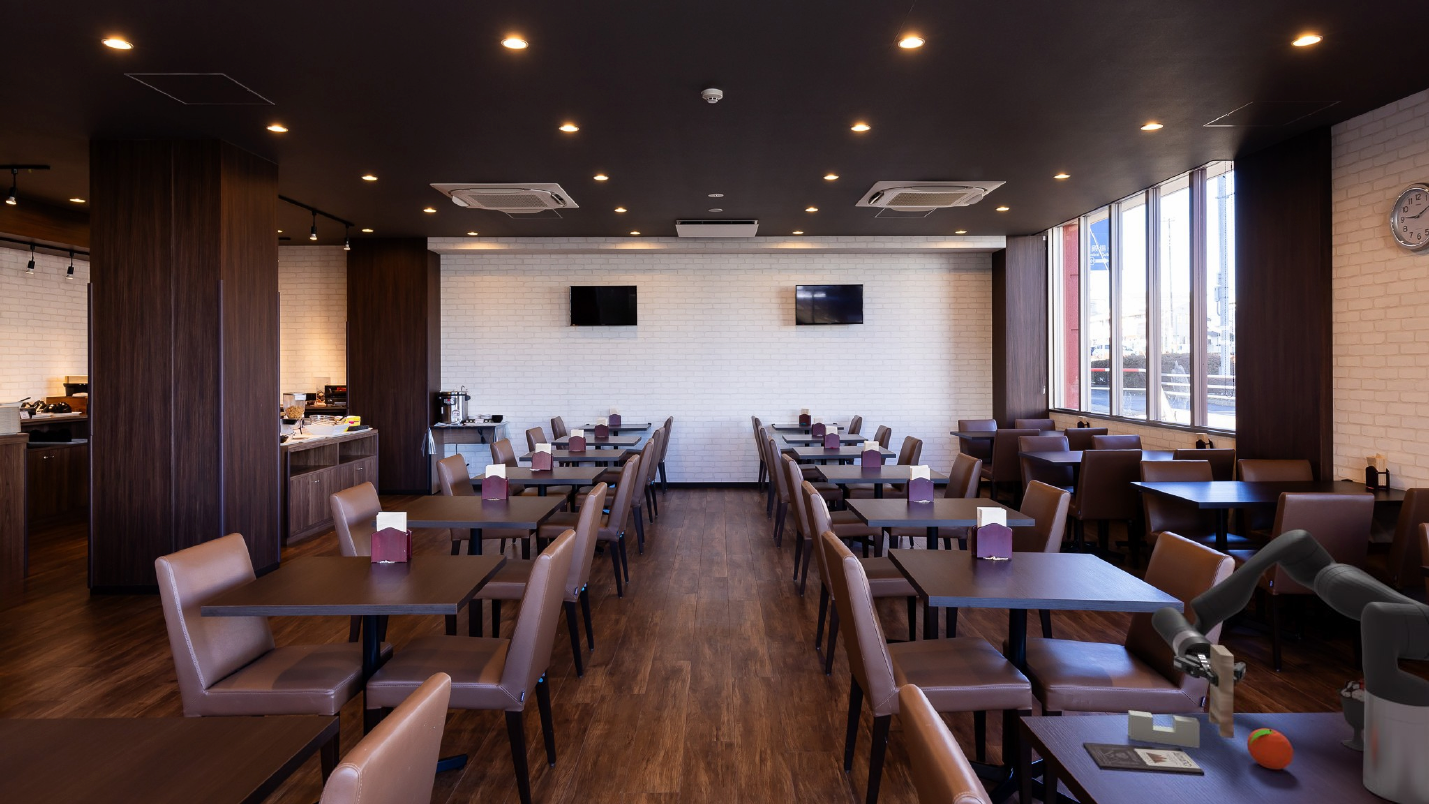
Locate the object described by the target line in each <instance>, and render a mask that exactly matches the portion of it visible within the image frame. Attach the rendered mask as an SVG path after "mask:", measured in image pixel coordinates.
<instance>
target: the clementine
mask: <svg viewBox="0 0 1429 804" xmlns="http://www.w3.org/2000/svg"><path fill="white" fill-rule="evenodd" d="M1246 746H1247V751H1248V752H1249V754H1250V757H1252V759H1253V760H1254V761H1255V762H1256V763H1258V764H1259V765H1260V766H1262V767H1265V768H1267V769H1270V770H1281V769H1284V768H1285V769H1286V767H1288V766H1289V765H1290V764H1291V763H1292V761H1293V758H1294V749H1293V747H1292V744H1291V742H1290V741H1289V740H1288V739H1287V737H1286V736H1285V735H1283V734H1282V733H1280V732H1279V731H1277V730H1275V729H1271V728H1265V727H1263V728H1259V729H1255V730H1254V731H1252V732H1251V733H1250V734H1249V735H1248V737H1247V741H1246Z"/></svg>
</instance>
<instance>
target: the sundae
mask: <svg viewBox="0 0 1429 804" xmlns="http://www.w3.org/2000/svg"><path fill="white" fill-rule="evenodd" d="M1336 694H1337V695H1338V697H1339V698H1340V700H1341V706H1342V712H1343V717H1344V720H1345V722H1346V723H1347V724H1348V725H1349V726H1350V727H1351V728H1353V737H1352V738H1351V740H1345V741H1342V740H1341V741H1342V742H1344V743H1343V744H1346V746H1348V747H1349V748H1348V747H1347V748H1348V749H1350V748H1354V749H1355V750H1354V751H1357V750H1358V751H1357V752H1361V751H1364V739H1363V737H1362V736H1363V735H1362V733H1363V732H1362V731H1364V708H1365V679H1364V677H1363V678H1360V679H1359V680H1353V681H1352V680H1349V679H1348V678H1347V679H1346V678H1345V680H1344V685H1343V689H1339V688H1337V690H1336ZM1343 744H1342V745H1343ZM1346 746H1345V747H1346Z"/></svg>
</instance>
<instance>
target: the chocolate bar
mask: <svg viewBox="0 0 1429 804" xmlns="http://www.w3.org/2000/svg"><path fill="white" fill-rule="evenodd" d="M1082 745H1084V746H1083V747H1084V748H1085V750H1086V751H1087V752H1088V754H1089V753H1090V754H1089V755H1090V757H1091V756H1092V757H1091V758H1092V759H1093V761H1094V760H1095V761H1094V762H1095V763H1096V765H1097V766H1098V767H1099V769H1102V770H1103V769H1104V770H1116V769H1121V771H1135V772H1136V771H1137V772H1147V773H1148V772H1152V773H1167V774H1180V775H1181V774H1184V775H1198V776H1199V775H1200V776H1205V771H1204V770H1203V769H1202V768H1201V767H1200V766H1199V765H1198V764H1197V763H1196V762H1195V761H1194V760H1193V759H1192V758H1191V757H1190V755H1188V754H1187V753H1186V752H1185V751H1184V750H1183V749H1182V748H1181V747H1179V748H1178V747H1167V746H1166V747H1164V746H1151V745H1150V746H1149V745H1148V746H1147V745H1131V744H1130V745H1128V744H1116V743H1115V744H1111V743H1099V742H1097V743H1096V742H1082Z"/></svg>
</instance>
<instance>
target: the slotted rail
mask: <svg viewBox="0 0 1429 804" xmlns="http://www.w3.org/2000/svg"><path fill="white" fill-rule="evenodd" d="M1127 713H1128V714H1127V716H1128V717H1127V718H1128V719H1127V724H1128V725H1127V731H1128V732H1127V735H1128V734H1129V735H1128V737H1129V736H1130V737H1129V739H1130V738H1131V739H1130V740H1132V739H1138V740H1137V741H1140V740H1142V742H1147V743H1155V742H1158V743H1157V744H1163V743H1164V745H1172V746H1181V747H1188V748H1189V747H1190V748H1195V749H1200V722H1199V720H1198V719H1197V718H1196V717H1189V716H1188V717H1187V716H1180V715H1172V727H1171V726H1170V727H1168V726H1160V725H1154V716H1153V715H1152V713H1151V712H1148V711H1147V712H1145V711H1136V710H1128V711H1127Z"/></svg>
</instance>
